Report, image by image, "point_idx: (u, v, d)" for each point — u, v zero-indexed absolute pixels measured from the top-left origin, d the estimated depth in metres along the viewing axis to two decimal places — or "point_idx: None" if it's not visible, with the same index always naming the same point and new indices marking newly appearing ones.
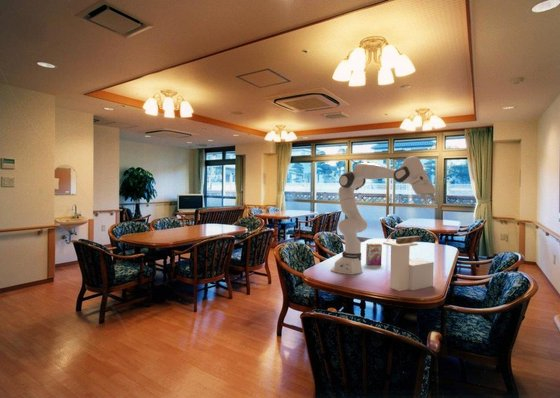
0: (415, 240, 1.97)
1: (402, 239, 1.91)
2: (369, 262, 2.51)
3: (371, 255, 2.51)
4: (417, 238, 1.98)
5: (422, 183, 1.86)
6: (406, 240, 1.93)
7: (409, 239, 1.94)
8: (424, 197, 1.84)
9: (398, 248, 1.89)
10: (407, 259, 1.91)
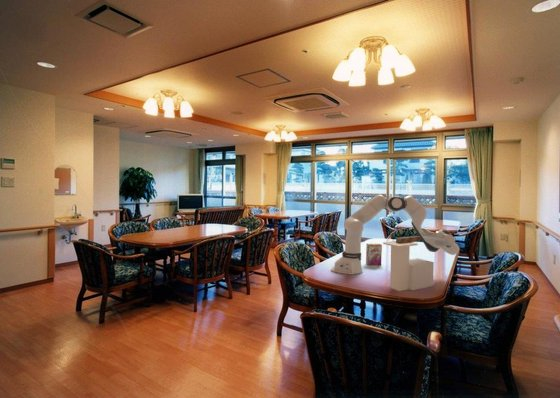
0: (415, 240, 1.97)
1: (402, 239, 1.91)
2: (369, 262, 2.51)
3: (371, 255, 2.51)
4: (417, 238, 1.98)
5: (444, 242, 2.05)
6: (406, 240, 1.93)
7: (409, 239, 1.94)
8: (440, 234, 2.01)
9: (398, 248, 1.89)
10: (407, 259, 1.91)
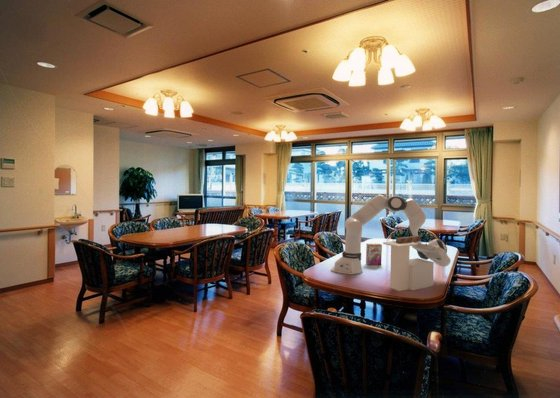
0: (415, 240, 1.97)
1: (402, 239, 1.91)
2: (369, 262, 2.51)
3: (371, 255, 2.51)
4: (417, 238, 1.98)
5: (435, 254, 2.01)
6: (406, 240, 1.93)
7: (409, 239, 1.94)
8: (430, 246, 1.97)
9: (398, 248, 1.89)
10: (407, 259, 1.91)
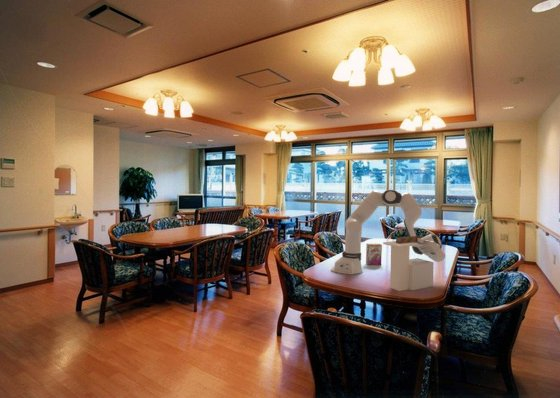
0: (415, 240, 1.97)
1: (402, 239, 1.91)
2: (369, 262, 2.51)
3: (371, 255, 2.51)
4: None
5: (429, 249, 1.98)
6: (406, 240, 1.93)
7: (409, 239, 1.94)
8: (420, 240, 1.96)
9: (398, 248, 1.89)
10: (407, 259, 1.91)
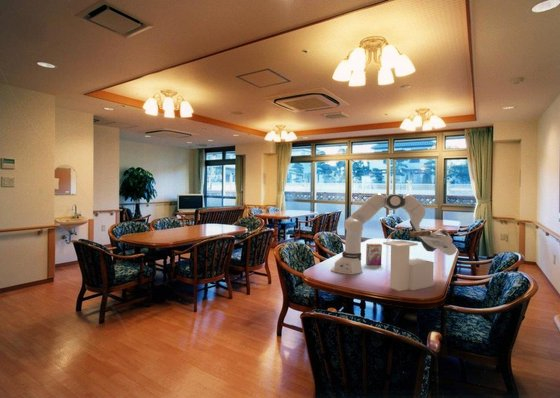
0: (428, 234, 2.02)
1: (416, 233, 1.97)
2: (369, 262, 2.51)
3: (371, 255, 2.51)
4: None
5: (441, 243, 2.04)
6: (419, 234, 1.98)
7: (422, 233, 2.00)
8: (433, 234, 2.02)
9: (398, 248, 1.89)
10: (407, 259, 1.91)
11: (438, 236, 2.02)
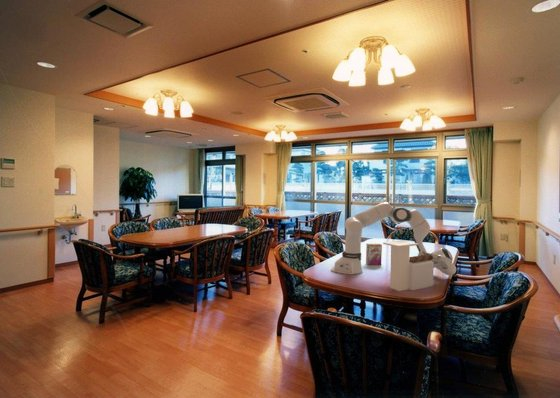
0: (428, 258, 2.03)
1: (415, 258, 1.98)
2: (369, 262, 2.51)
3: (371, 255, 2.51)
4: (430, 257, 2.04)
5: (441, 264, 2.04)
6: (419, 259, 1.99)
7: (422, 258, 2.00)
8: (434, 256, 2.01)
9: (398, 248, 1.89)
10: (407, 259, 1.91)
11: None
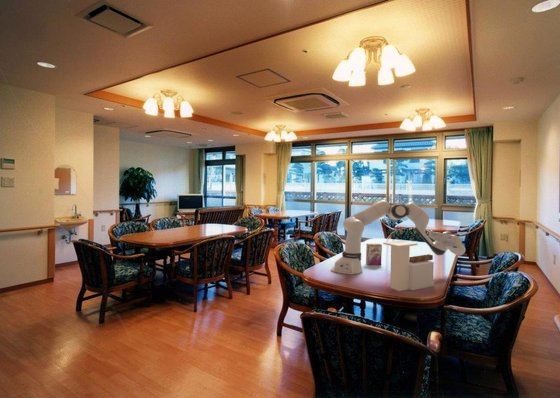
0: (428, 258, 2.03)
1: (415, 258, 1.98)
2: (369, 262, 2.51)
3: (371, 255, 2.51)
4: (430, 257, 2.04)
5: (451, 243, 2.08)
6: (419, 259, 1.99)
7: (422, 258, 2.00)
8: (447, 235, 2.04)
9: (398, 248, 1.89)
10: (407, 259, 1.91)
11: None
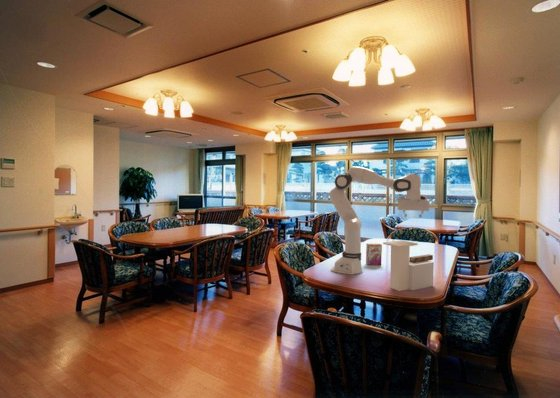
0: (428, 258, 2.03)
1: (415, 258, 1.98)
2: (369, 262, 2.51)
3: (371, 255, 2.51)
4: (430, 257, 2.04)
5: None
6: (419, 259, 1.99)
7: (422, 258, 2.00)
8: (422, 213, 2.18)
9: (398, 248, 1.89)
10: (407, 259, 1.91)
11: None
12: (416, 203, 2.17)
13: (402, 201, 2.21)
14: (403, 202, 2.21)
